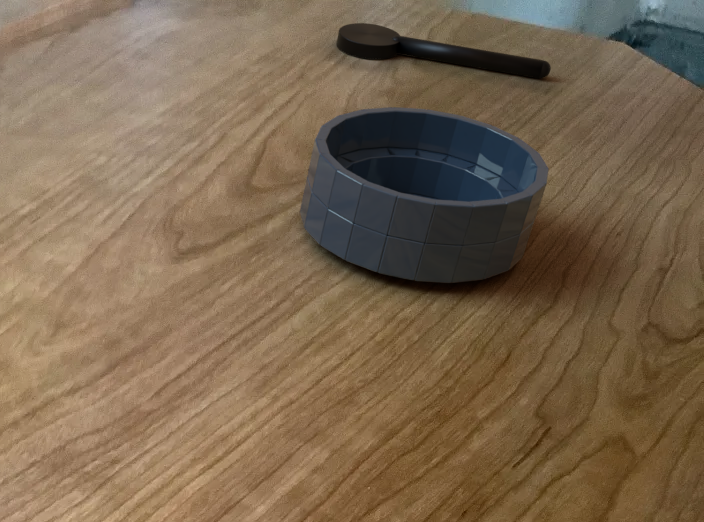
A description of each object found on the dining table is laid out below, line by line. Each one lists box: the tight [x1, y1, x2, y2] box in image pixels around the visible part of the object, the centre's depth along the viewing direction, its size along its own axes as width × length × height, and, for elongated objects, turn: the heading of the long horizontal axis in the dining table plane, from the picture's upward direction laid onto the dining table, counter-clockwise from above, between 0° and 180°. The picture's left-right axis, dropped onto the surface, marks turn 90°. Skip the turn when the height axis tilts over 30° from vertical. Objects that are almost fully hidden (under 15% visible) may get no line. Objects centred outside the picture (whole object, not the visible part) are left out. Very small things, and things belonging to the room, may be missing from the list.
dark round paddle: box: [335, 22, 552, 79], centre depth 99 cm, size 15×4×1 cm, turn 69°
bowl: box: [299, 106, 550, 284], centre depth 76 cm, size 12×12×5 cm
